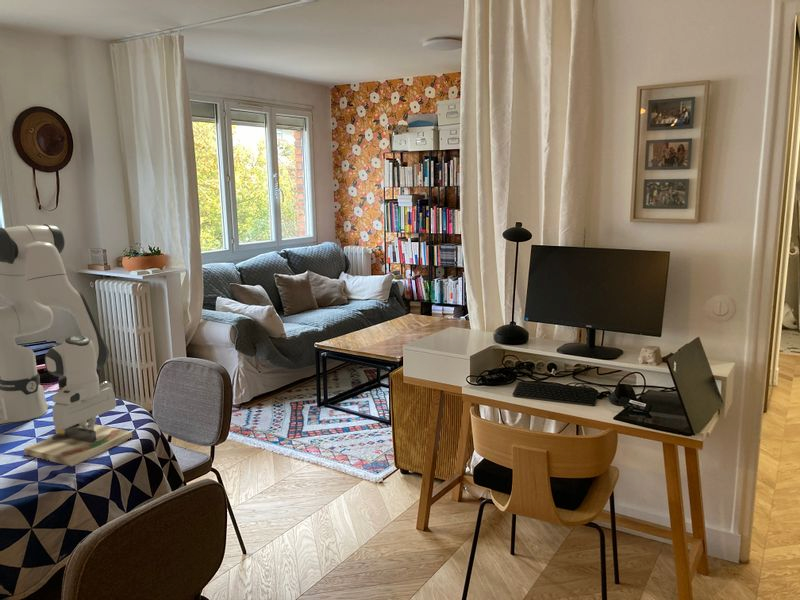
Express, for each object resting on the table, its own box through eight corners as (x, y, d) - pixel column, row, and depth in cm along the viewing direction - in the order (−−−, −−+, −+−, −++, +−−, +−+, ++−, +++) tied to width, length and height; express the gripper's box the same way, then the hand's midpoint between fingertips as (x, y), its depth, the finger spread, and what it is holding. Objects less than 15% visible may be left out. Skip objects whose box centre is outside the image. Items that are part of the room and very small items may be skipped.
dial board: (24, 454, 187) (23, 447, 187) (87, 428, 207) (86, 421, 206) (72, 466, 179) (71, 459, 179) (132, 437, 199) (131, 431, 198)
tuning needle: (53, 436, 194) (52, 427, 193) (64, 431, 198) (63, 422, 197) (88, 443, 188) (87, 434, 188) (99, 438, 192) (98, 429, 191)
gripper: (103, 378, 202) (108, 419, 204) (46, 398, 183) (52, 443, 186) (118, 380, 199) (122, 421, 202) (62, 401, 181) (67, 446, 183)
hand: (88, 432), depth 193 cm, fingers closed
